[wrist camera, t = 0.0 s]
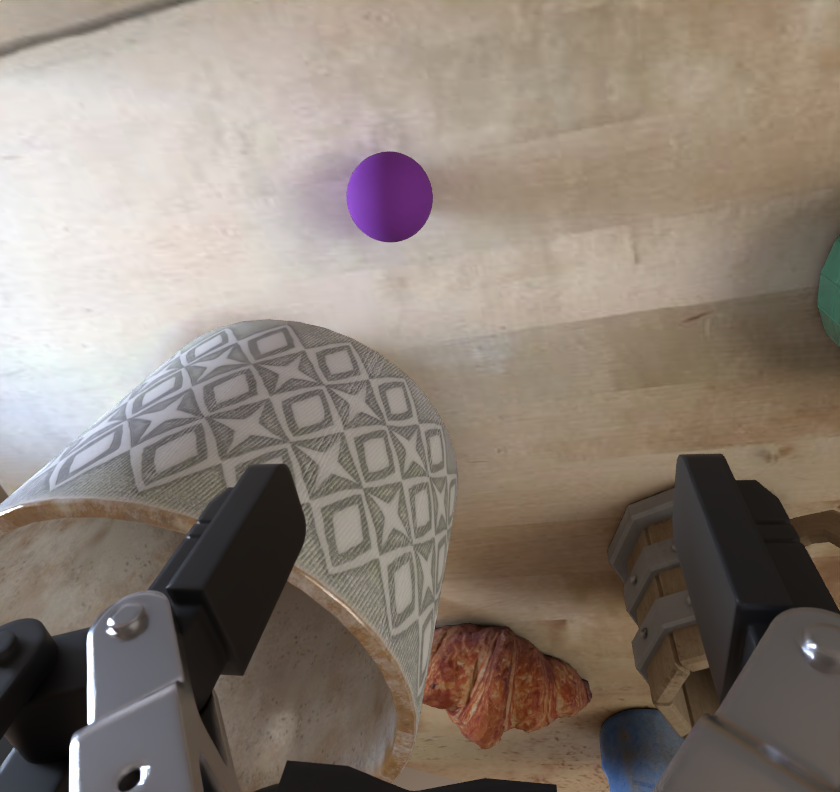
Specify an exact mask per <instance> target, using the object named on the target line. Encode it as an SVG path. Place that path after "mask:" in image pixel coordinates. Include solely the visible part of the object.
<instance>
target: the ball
mask: <svg viewBox="0 0 840 792" xmlns="http://www.w3.org/2000/svg"><path fill="white" fill-rule="evenodd" d="M432 202H433V194H432V187H431V183H430V181H429V178H428V176H427V174H426V172H425V171H424V170H423V168H422V167H421V166H420V165H419V164H418V163H417V162H416V161H415V160H413V159H412V158H410V157H408V156H406V155H404V154H401V153H397V152H381V153H377V154H374V155H372V156H370V157H368V158H366V159H365V160H364V161H362V162H361V163H360V164H359V165H358V167H357V168H356V169H355V170H354V172H353V174H352V176H351V178H350V180H349V183H348V188H347V205H348V209H349V212H350V215H351V217H352V219H353V221H354V222H355V224H356V225H357V226H358V228H359V229H360V230H361V231H362V232H364V233H365V234H366V235H368V236H369V237H371V238H373V239H376V240H379V241H383V242H398V241H402V240H405V239H408V238H409V237H411V236H413V235H414V234H416V233H417V232H418V231H419V230H420V229H421V228H422V227H423V225H424V224H425V223H426V221H427V219H428V217H429V215H430V212H431V208H432Z"/></svg>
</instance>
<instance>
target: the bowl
mask: <svg viewBox="0 0 840 792" xmlns="http://www.w3.org/2000/svg"><path fill="white" fill-rule="evenodd" d="M817 305H818V310H819V313H820V316H821V320H822V323H823V326H824V329H825V332H826V334H827V335H828V336H829V337H830V338H831V339H832V341H833V342H834V343H835V344H836V345H837V346H838V347H839V348H840V235H839V236H838V238H837V240H836V241H835V243H834V245H833V247H832V249H831V251H830V254H829V256H828V258H827V260H826V262H825V264H824V267H823V269H822V271H821V274H820V281H819V291H818V300H817Z"/></svg>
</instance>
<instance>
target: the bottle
mask: <svg viewBox="0 0 840 792" xmlns="http://www.w3.org/2000/svg"><path fill="white" fill-rule="evenodd" d="M684 740H685V739H684V738H682V737H680V736H678V735H677V733H676V732H675V731H674V730H673V728H672V727H671V726H670V724H669V723H668V722H667V721H666V719H665V718H664V717H663V715H662V714H661V713H660V712H659V710H654V709H634V710H627V711H623V712H620V713H618V714H616V715H614V716H612V717H610V718H609V719H607V720H606V721H605V722H604V723H603V726H602V728H601V730H600V748H601V760H602V769H603V771H604V773H605V775H606V777H607V779H608V782H609V787H610V792H652V791H653V789H654V787H655V786H656V784H657V783H658V781H659V780H660V778H661V776H662V775H663V773H664V772H665V770H666V769H667V767H668V765H669V764H670V762H671V761H672V759H673V758H674V756H675V754H676V753H677V751H678V750H679V748H680V746H681V745H682V743H683V742H684Z"/></svg>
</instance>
